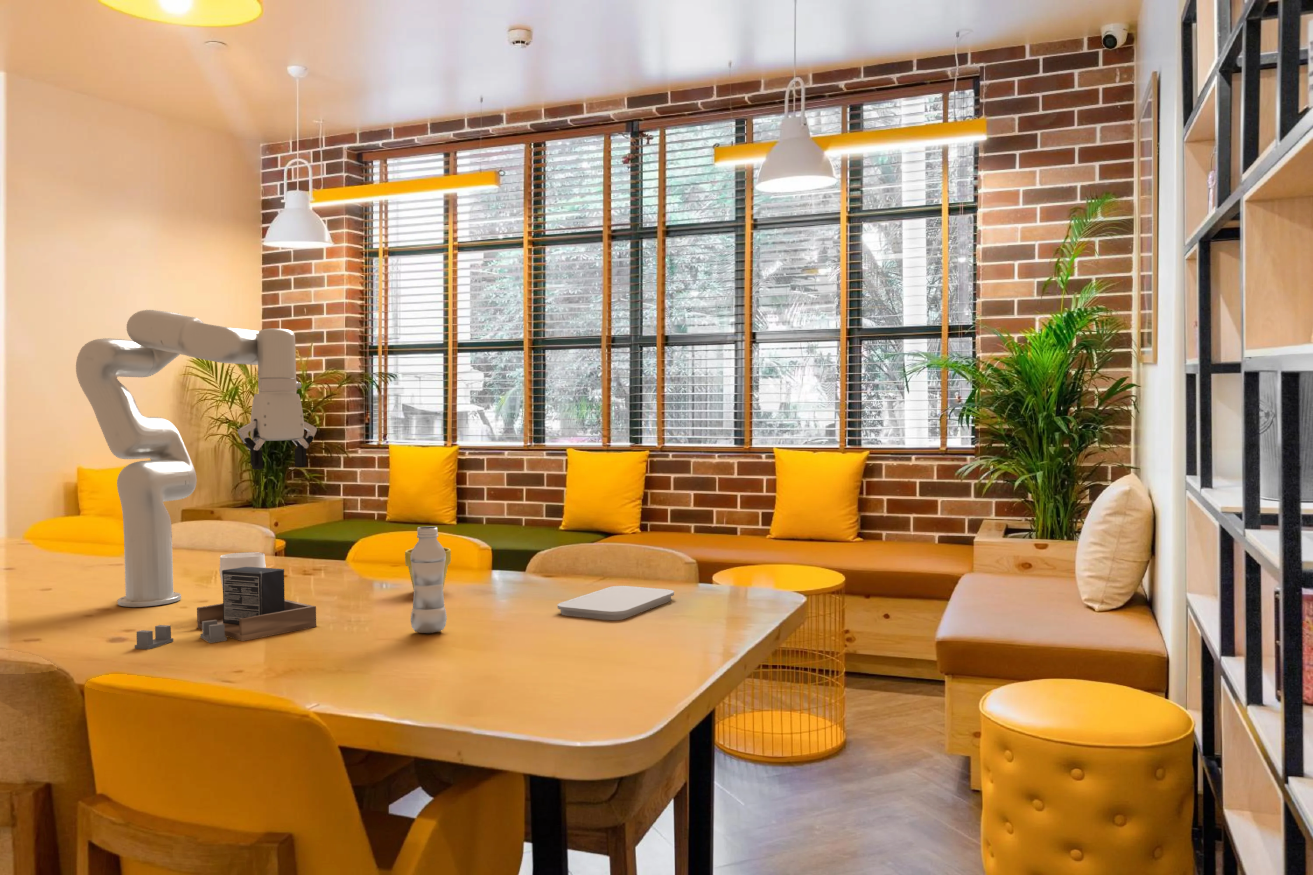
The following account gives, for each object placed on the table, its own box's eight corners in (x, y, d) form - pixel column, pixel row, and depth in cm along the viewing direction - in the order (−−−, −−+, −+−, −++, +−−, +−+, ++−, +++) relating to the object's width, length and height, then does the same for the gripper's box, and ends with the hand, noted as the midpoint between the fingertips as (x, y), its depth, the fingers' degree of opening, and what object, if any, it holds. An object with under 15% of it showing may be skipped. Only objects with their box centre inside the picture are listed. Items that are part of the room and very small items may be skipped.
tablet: (551, 616, 201) (551, 605, 201) (615, 594, 224) (615, 584, 224) (619, 624, 194) (619, 612, 194) (679, 600, 217) (679, 590, 217)
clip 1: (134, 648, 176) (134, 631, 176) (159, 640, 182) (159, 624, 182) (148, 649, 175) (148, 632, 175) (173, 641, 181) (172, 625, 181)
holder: (197, 627, 193) (196, 607, 193) (269, 614, 204) (269, 595, 204) (242, 640, 181) (241, 619, 181) (316, 626, 192) (315, 606, 192)
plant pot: (446, 595, 224) (445, 552, 223) (400, 595, 224) (399, 553, 223) (455, 587, 234) (454, 546, 234) (412, 587, 234) (411, 546, 234)
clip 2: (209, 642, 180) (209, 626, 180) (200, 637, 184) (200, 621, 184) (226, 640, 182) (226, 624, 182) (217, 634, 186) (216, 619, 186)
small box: (287, 620, 193) (286, 567, 193) (262, 627, 187) (260, 573, 187) (247, 616, 198) (246, 564, 197) (221, 623, 192) (220, 569, 191)
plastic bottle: (413, 629, 189) (411, 525, 189) (449, 628, 190) (447, 525, 189) (408, 636, 183) (406, 530, 182) (445, 635, 183) (443, 529, 183)
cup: (250, 616, 203) (248, 558, 202) (211, 615, 205) (209, 557, 204) (275, 607, 212) (274, 552, 211) (237, 606, 213) (236, 551, 213)
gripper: (305, 388, 217) (307, 465, 218) (229, 387, 204) (231, 469, 204) (323, 387, 212) (325, 466, 213) (246, 386, 199) (248, 470, 200)
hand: (279, 467), depth 209 cm, fingers open, 9 cm apart
